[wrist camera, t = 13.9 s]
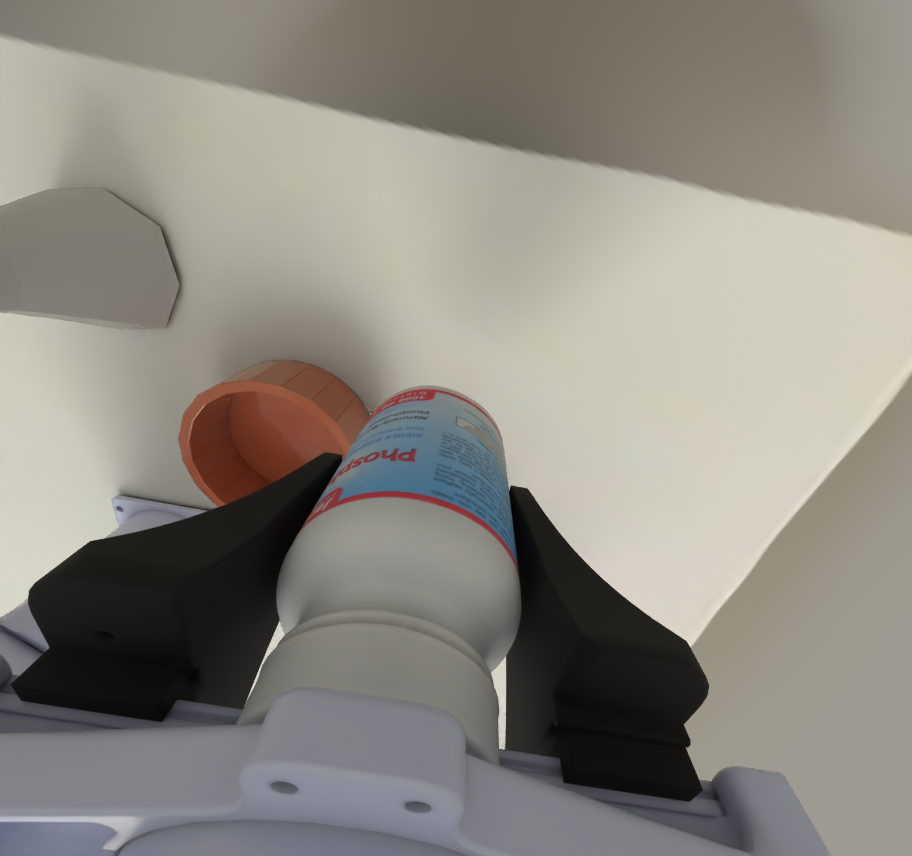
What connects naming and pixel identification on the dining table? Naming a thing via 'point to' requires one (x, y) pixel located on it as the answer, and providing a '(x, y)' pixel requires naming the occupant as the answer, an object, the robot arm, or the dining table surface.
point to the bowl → (266, 427)
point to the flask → (84, 261)
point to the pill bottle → (405, 569)
